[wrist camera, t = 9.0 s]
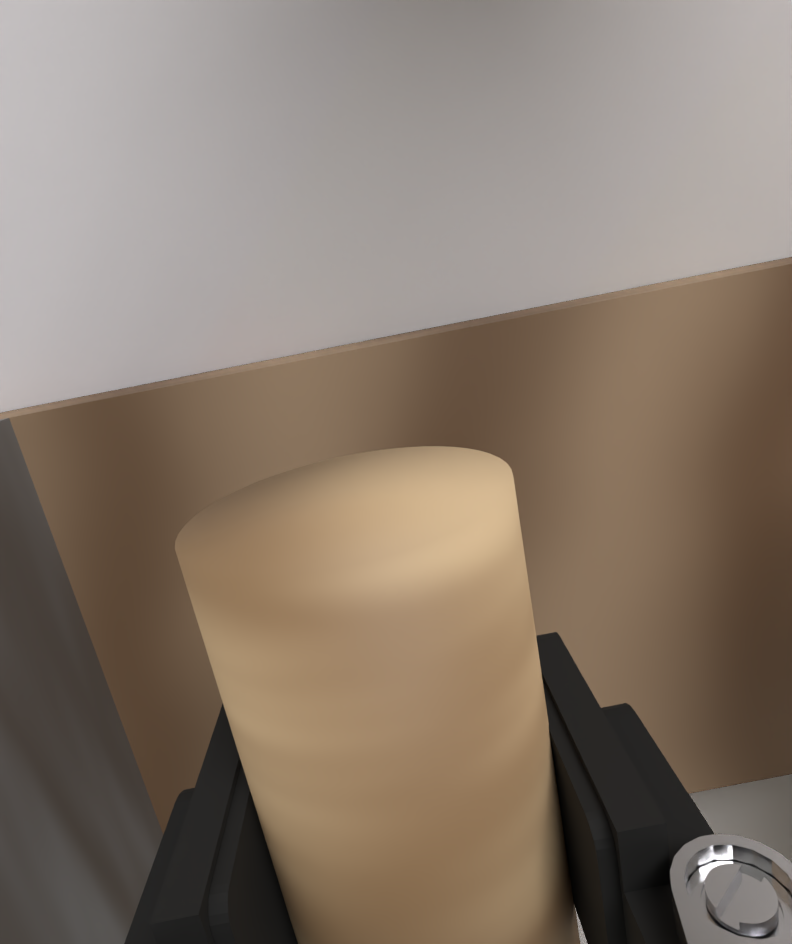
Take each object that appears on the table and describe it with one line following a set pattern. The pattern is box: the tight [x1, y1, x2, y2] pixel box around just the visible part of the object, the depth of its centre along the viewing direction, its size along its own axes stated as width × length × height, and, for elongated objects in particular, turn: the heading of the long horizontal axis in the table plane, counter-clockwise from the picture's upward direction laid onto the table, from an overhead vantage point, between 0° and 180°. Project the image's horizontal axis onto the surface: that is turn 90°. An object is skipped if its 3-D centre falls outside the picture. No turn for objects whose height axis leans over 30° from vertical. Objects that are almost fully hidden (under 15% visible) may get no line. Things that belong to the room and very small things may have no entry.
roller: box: [175, 446, 580, 944], centre depth 9 cm, size 4×10×4 cm, turn 11°
